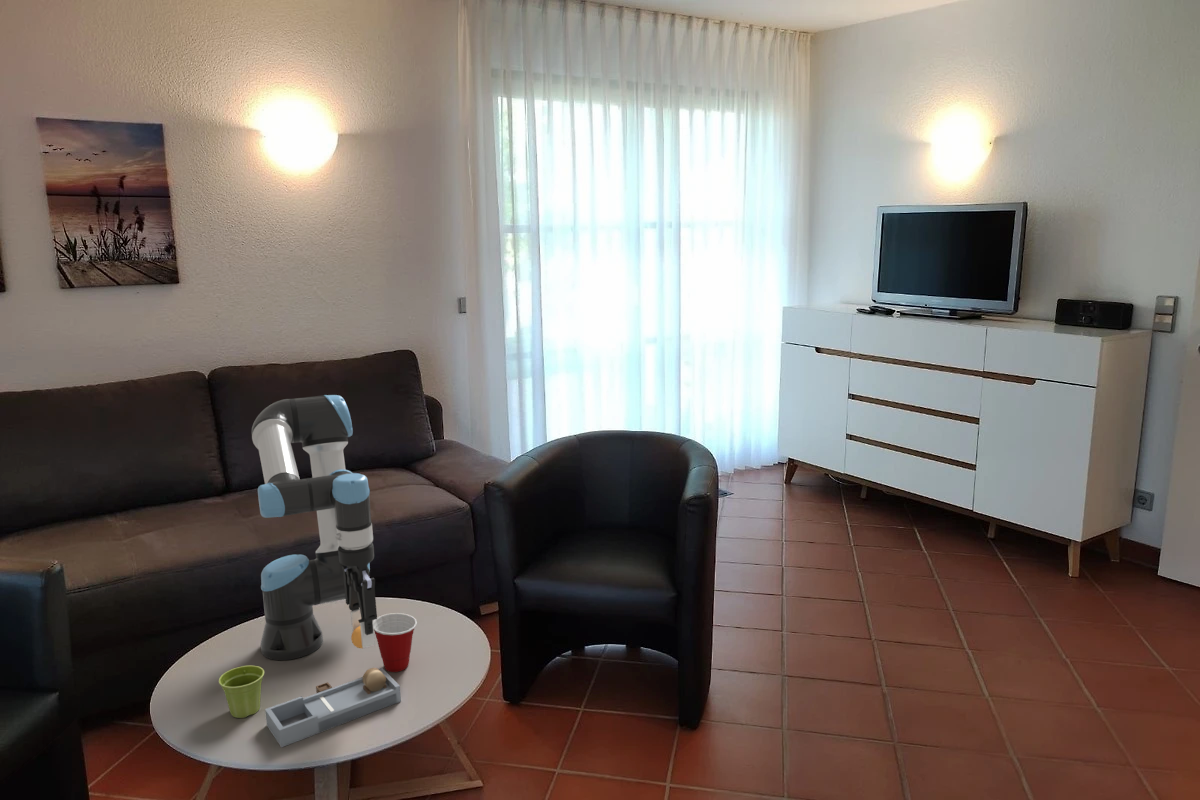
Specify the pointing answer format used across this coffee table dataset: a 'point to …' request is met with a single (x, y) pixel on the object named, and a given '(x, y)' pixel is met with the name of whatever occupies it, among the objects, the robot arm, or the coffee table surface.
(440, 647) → the coffee table surface
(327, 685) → the small wooden crate
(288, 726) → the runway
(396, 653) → the plastic cup
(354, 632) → the ball
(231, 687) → the plant pot
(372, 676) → the block
